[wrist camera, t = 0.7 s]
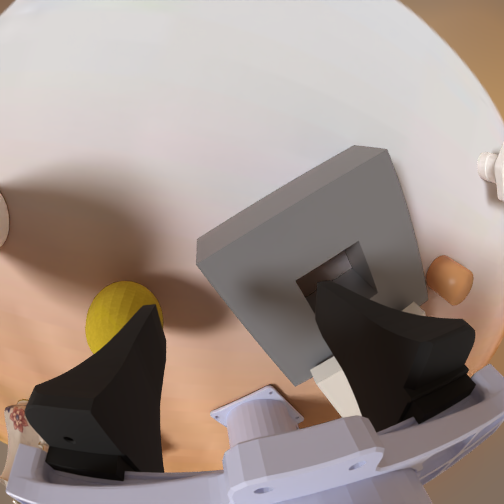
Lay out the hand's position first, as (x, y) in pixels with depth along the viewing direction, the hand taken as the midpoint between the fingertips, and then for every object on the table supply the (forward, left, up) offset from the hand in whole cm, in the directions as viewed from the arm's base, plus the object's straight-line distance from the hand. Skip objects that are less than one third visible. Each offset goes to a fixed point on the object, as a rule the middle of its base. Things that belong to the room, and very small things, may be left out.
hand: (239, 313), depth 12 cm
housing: (-10, -5, -10) cm, 15 cm away
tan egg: (-16, -17, -10) cm, 26 cm away
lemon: (0, +9, -10) cm, 13 cm away
